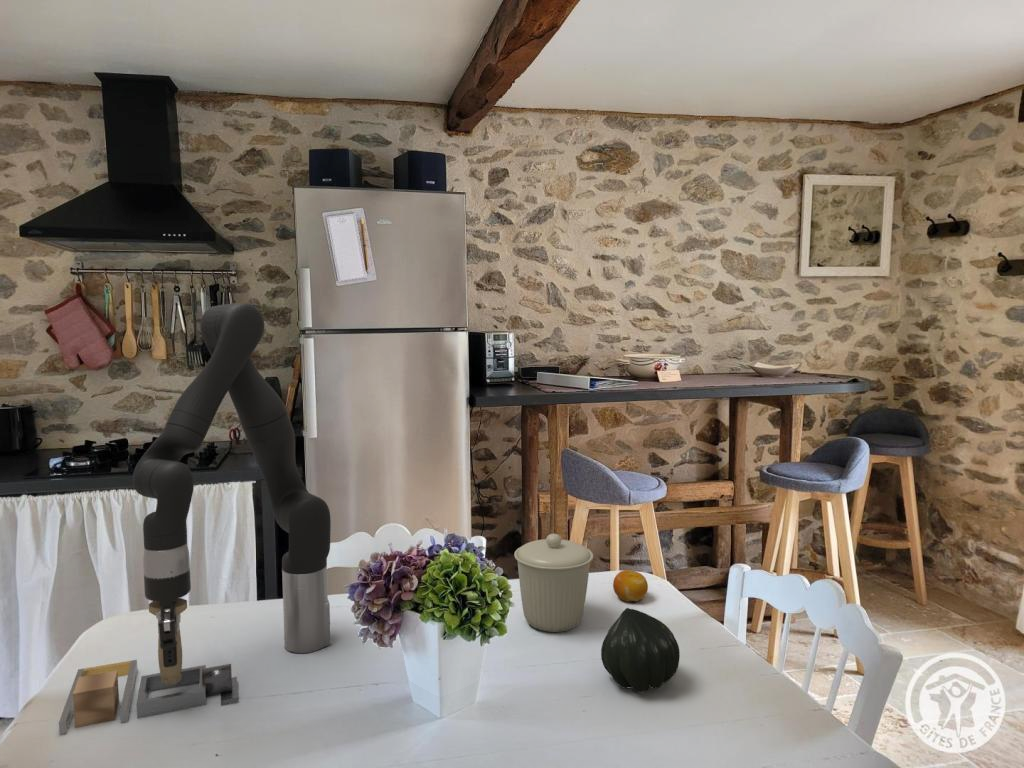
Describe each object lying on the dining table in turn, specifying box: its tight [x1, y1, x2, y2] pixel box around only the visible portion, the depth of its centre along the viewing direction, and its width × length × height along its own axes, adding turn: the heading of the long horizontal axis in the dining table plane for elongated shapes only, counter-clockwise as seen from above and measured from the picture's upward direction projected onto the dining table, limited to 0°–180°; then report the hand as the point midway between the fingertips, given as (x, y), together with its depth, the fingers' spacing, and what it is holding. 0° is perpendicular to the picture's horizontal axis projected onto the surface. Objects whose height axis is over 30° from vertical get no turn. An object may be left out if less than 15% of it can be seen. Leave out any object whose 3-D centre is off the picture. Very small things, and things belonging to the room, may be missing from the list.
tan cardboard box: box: [73, 671, 120, 728], centre depth 125 cm, size 6×6×6 cm
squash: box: [600, 607, 681, 693], centre depth 139 cm, size 14×15×15 cm
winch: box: [136, 663, 240, 719], centre depth 132 cm, size 16×10×6 cm, turn 113°
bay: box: [58, 659, 138, 736], centre depth 130 cm, size 10×19×4 cm, turn 23°
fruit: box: [612, 569, 649, 602], centre depth 179 cm, size 8×8×8 cm
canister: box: [514, 533, 594, 633], centre depth 164 cm, size 18×18×21 cm
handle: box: [148, 597, 188, 686], centre depth 130 cm, size 5×6×15 cm
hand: (171, 659), depth 130 cm, fingers closed on handle, 4 cm apart
